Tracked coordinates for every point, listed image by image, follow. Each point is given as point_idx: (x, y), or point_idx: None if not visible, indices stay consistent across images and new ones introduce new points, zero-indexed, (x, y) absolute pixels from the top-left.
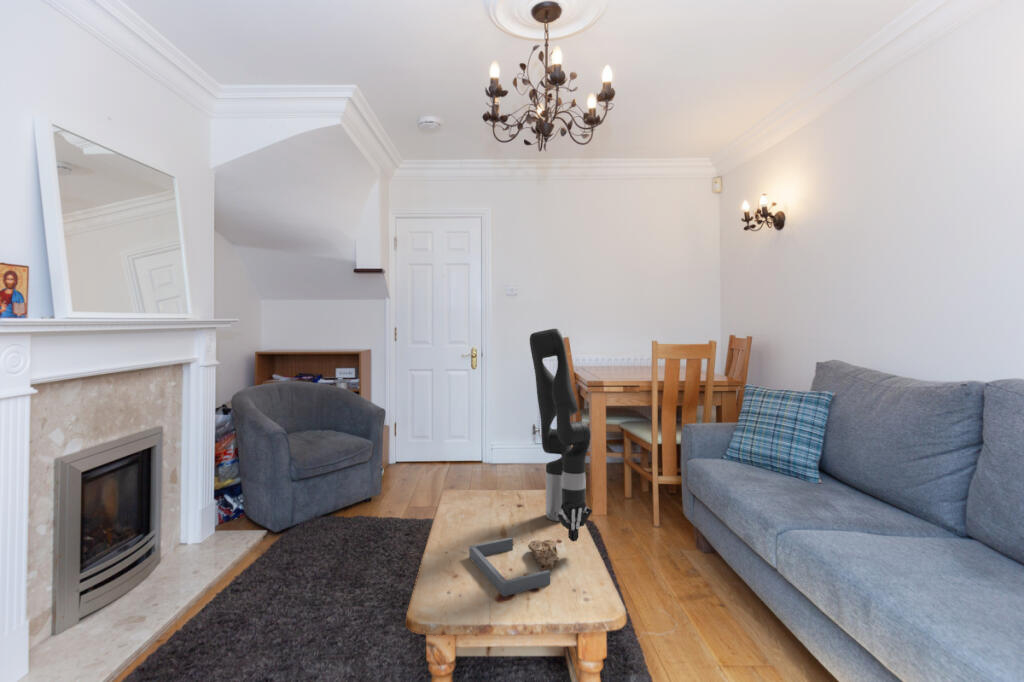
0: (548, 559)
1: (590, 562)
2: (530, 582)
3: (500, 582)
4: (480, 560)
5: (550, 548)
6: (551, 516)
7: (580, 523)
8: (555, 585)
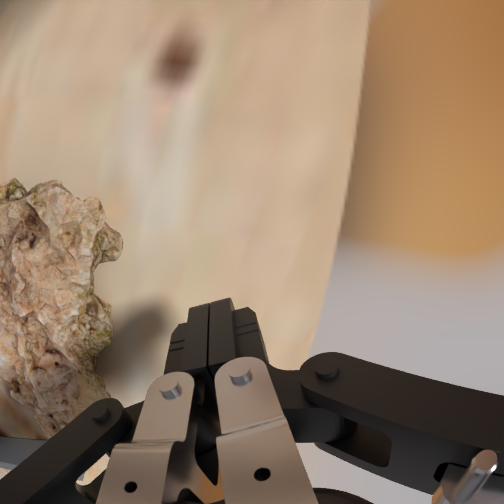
0: None
1: (283, 364)
2: None
3: None
4: None
5: (54, 344)
6: None
7: (315, 440)
8: (107, 455)
